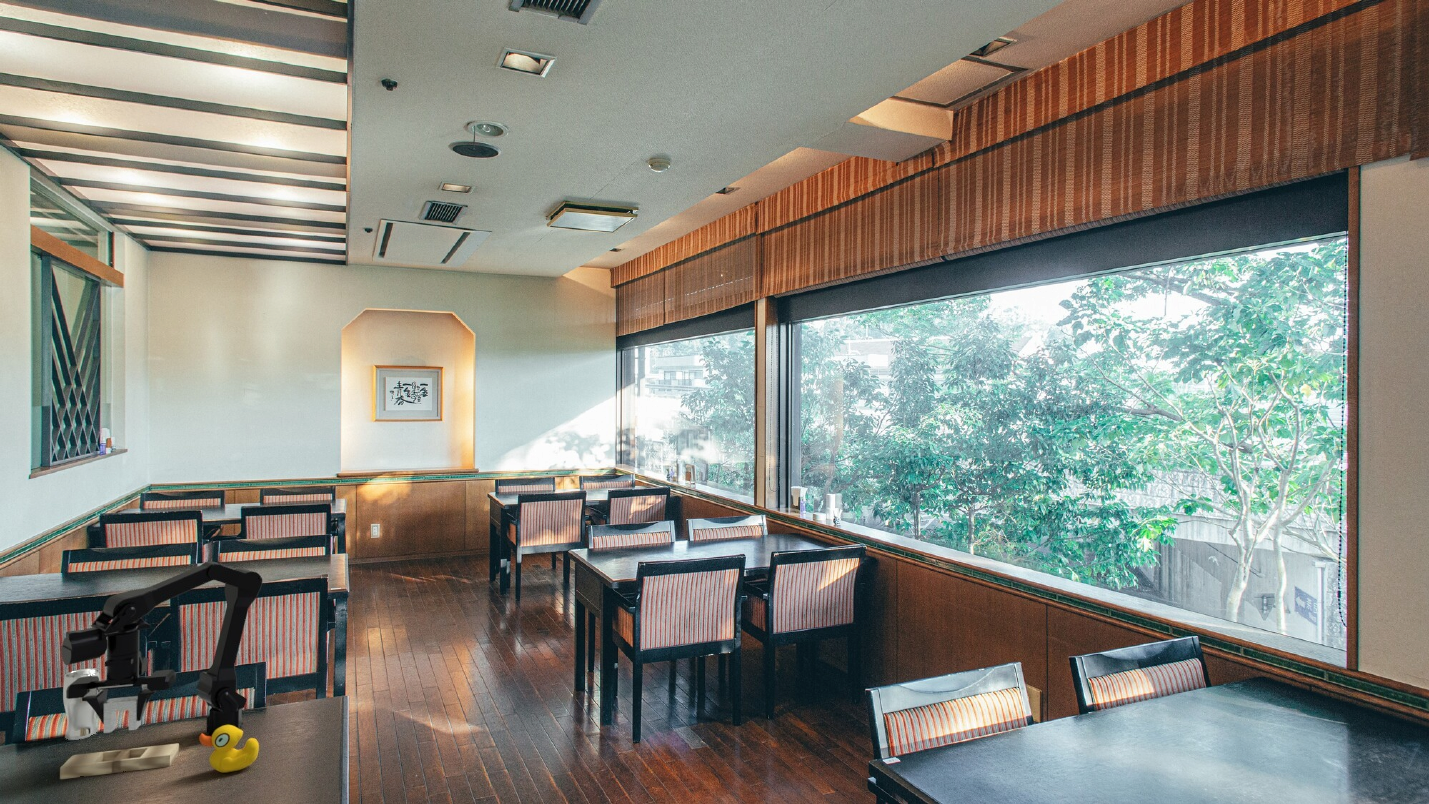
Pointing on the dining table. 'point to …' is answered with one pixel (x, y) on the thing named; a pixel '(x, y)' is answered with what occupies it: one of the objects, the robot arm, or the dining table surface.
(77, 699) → the beer glass
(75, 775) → the rail
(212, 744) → the duckling
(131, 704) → the clip
